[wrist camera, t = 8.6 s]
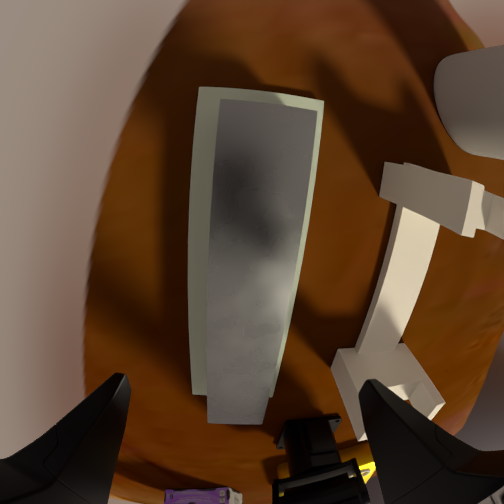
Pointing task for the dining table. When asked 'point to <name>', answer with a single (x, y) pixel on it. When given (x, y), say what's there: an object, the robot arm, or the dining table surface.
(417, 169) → the rack
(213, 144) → the mat
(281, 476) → the element tile
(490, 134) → the mug
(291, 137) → the rail
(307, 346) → the dining table surface
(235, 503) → the candy box
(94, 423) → the robot arm
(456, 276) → the dining table surface
